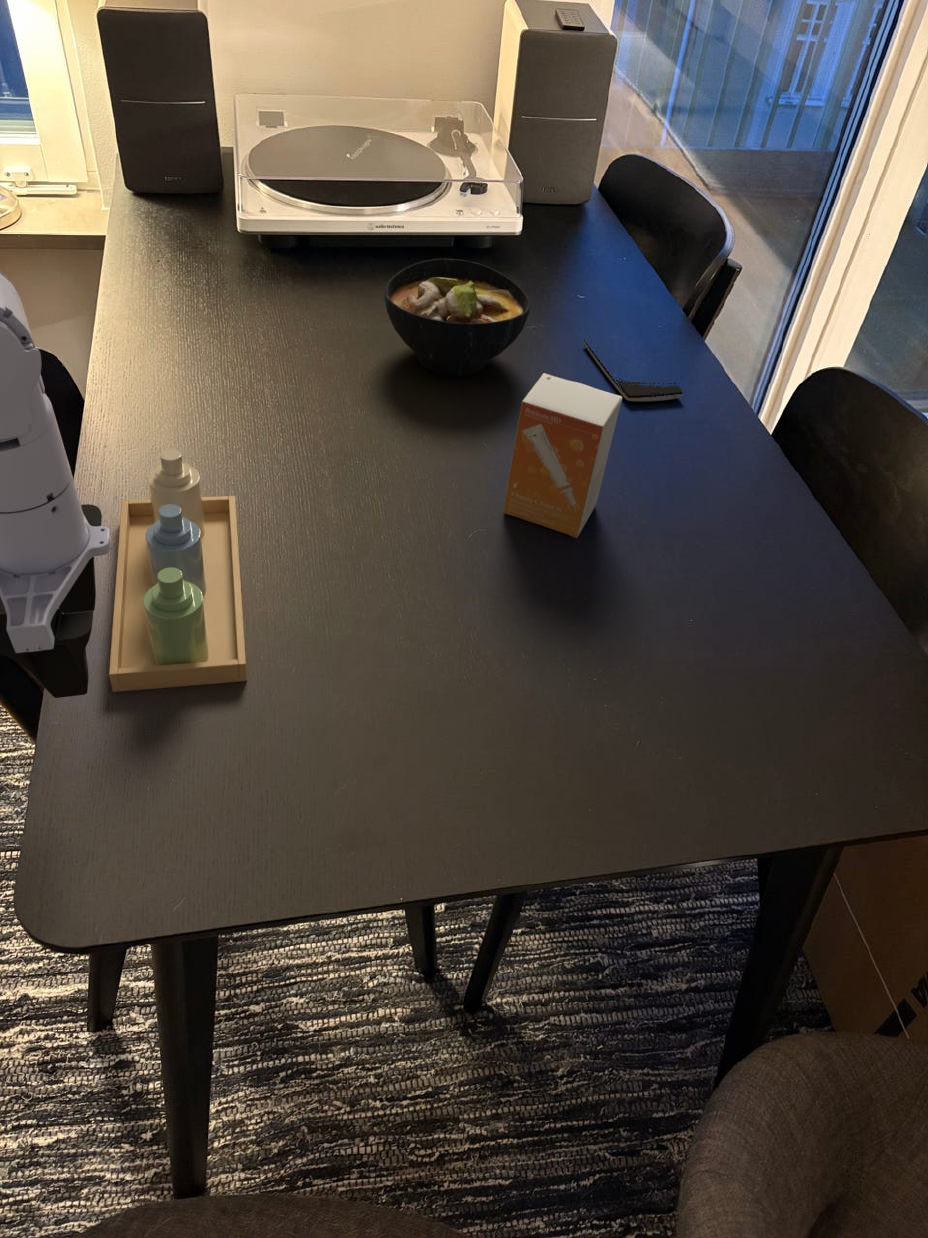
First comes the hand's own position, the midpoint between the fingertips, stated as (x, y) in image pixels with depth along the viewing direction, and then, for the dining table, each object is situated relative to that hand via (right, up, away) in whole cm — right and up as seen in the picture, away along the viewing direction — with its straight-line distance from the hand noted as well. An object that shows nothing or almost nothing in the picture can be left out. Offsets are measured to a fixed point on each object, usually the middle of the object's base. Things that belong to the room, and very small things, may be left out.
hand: (75, 649), depth 64 cm
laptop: (+46, +33, +57) cm, 80 cm away
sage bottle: (+3, -1, +14) cm, 14 cm away
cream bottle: (0, +10, +25) cm, 27 cm away
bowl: (+24, +34, +55) cm, 69 cm away
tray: (+1, +4, +20) cm, 21 cm away
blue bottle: (+1, +5, +20) cm, 20 cm away
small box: (+34, +13, +34) cm, 50 cm away
